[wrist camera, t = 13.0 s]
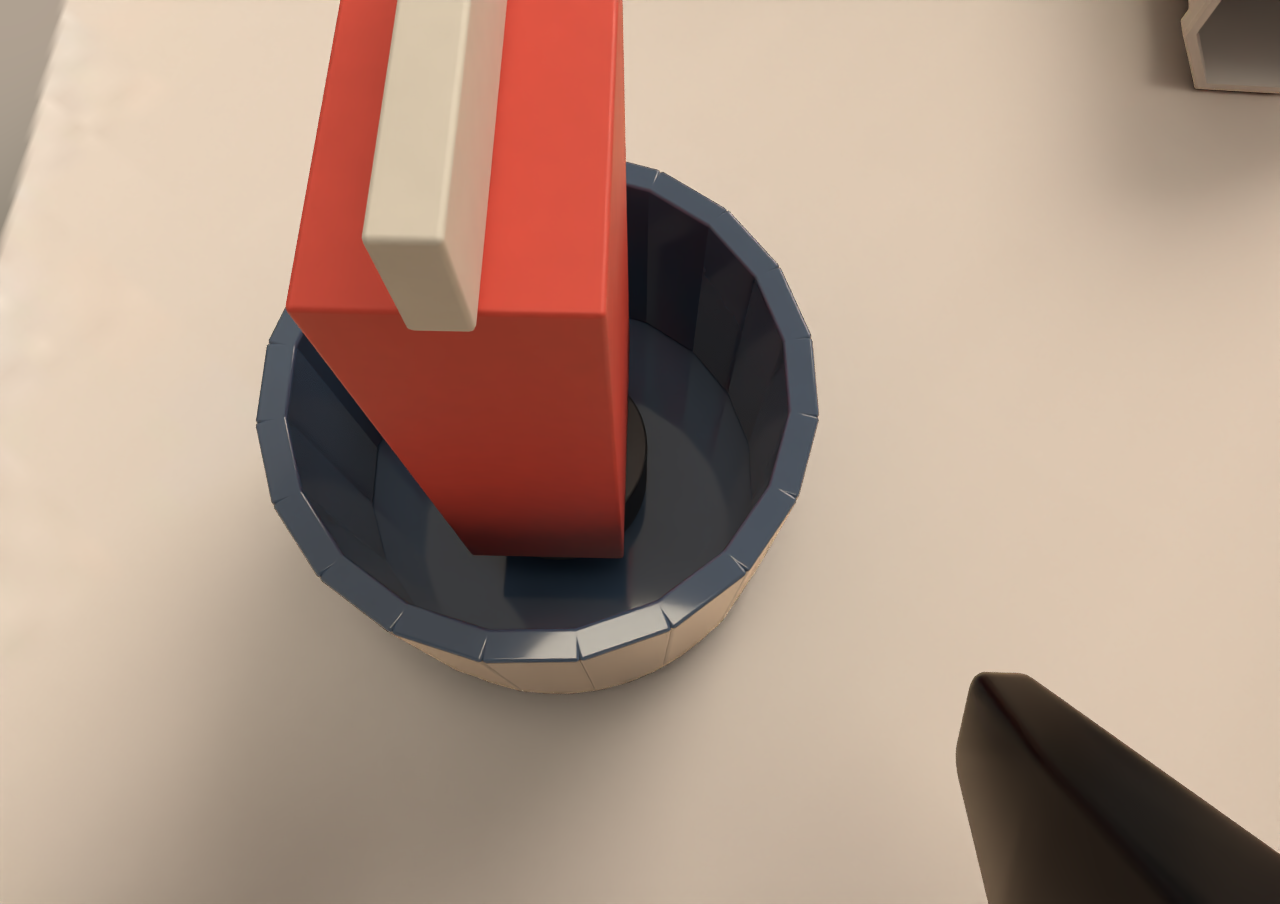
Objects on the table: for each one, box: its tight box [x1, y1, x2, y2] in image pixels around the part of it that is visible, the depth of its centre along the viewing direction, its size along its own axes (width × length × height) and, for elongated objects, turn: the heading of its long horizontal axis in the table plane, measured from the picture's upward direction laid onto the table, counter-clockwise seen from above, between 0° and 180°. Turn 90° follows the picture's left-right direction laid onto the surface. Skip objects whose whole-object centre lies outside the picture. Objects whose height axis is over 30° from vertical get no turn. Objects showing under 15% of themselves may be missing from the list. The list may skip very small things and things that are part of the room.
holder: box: [256, 162, 819, 694], centre depth 17 cm, size 9×9×6 cm
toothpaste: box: [286, 0, 647, 560], centre depth 13 cm, size 5×4×13 cm
